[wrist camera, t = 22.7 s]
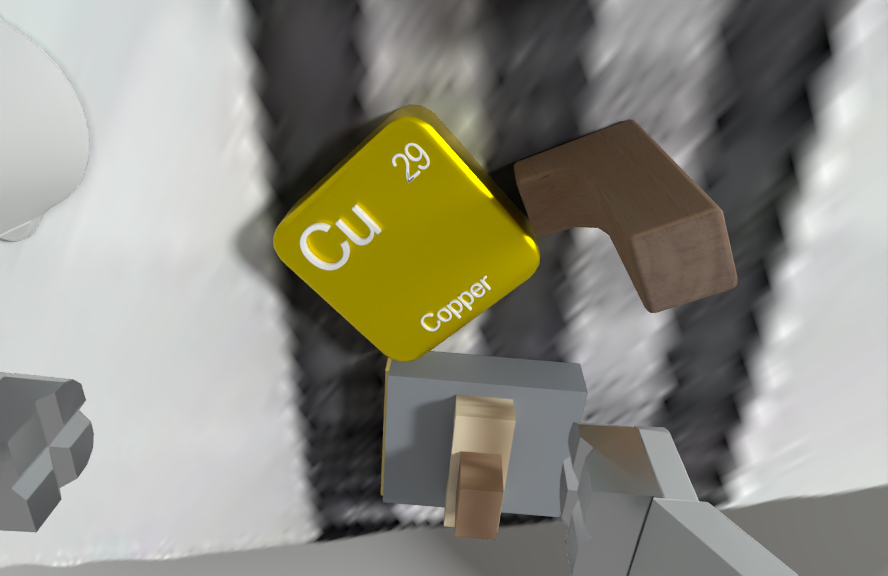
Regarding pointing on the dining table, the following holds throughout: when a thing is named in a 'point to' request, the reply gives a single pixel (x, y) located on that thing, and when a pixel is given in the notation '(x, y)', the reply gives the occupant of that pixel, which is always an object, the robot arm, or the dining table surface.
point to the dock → (432, 421)
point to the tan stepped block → (478, 438)
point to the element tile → (408, 236)
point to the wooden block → (633, 212)
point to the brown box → (478, 495)
